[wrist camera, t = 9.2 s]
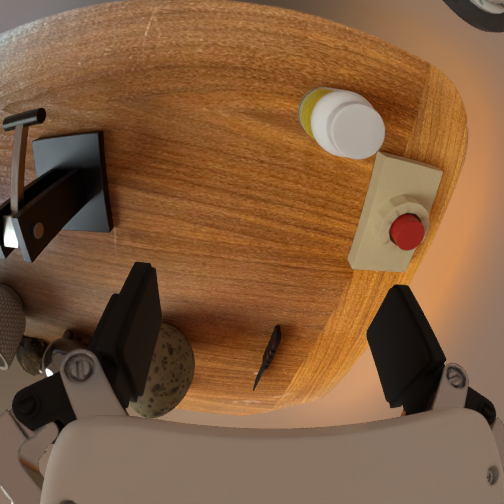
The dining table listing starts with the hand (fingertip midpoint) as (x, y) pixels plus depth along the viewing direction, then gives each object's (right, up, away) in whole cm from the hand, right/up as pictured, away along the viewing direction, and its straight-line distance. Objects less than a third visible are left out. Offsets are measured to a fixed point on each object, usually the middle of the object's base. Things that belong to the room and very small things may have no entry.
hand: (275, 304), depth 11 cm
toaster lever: (-22, +9, +8) cm, 25 cm away
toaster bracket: (-22, +10, +17) cm, 30 cm away
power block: (+16, +7, +20) cm, 26 cm away
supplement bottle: (+6, +16, +14) cm, 22 cm away
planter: (-48, -7, +29) cm, 57 cm away
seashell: (-51, -20, +38) cm, 66 cm away
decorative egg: (-14, -10, +31) cm, 36 cm away
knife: (+1, -15, +35) cm, 38 cm away
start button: (+16, +5, +17) cm, 24 cm away
